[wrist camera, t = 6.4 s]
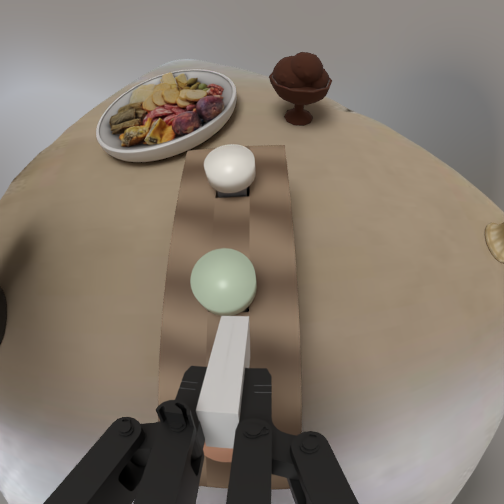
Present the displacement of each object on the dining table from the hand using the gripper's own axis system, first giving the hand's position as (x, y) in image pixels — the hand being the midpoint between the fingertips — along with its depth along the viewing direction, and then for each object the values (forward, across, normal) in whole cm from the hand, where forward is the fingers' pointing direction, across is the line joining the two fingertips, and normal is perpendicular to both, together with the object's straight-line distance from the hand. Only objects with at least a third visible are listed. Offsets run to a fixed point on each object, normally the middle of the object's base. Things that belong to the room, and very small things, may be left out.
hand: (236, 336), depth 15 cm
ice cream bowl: (+43, +8, +18) cm, 47 cm away
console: (+16, -2, -9) cm, 18 cm away
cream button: (+19, -2, +5) cm, 20 cm away
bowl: (+45, -19, +19) cm, 52 cm away
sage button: (+11, -2, -3) cm, 11 cm away
